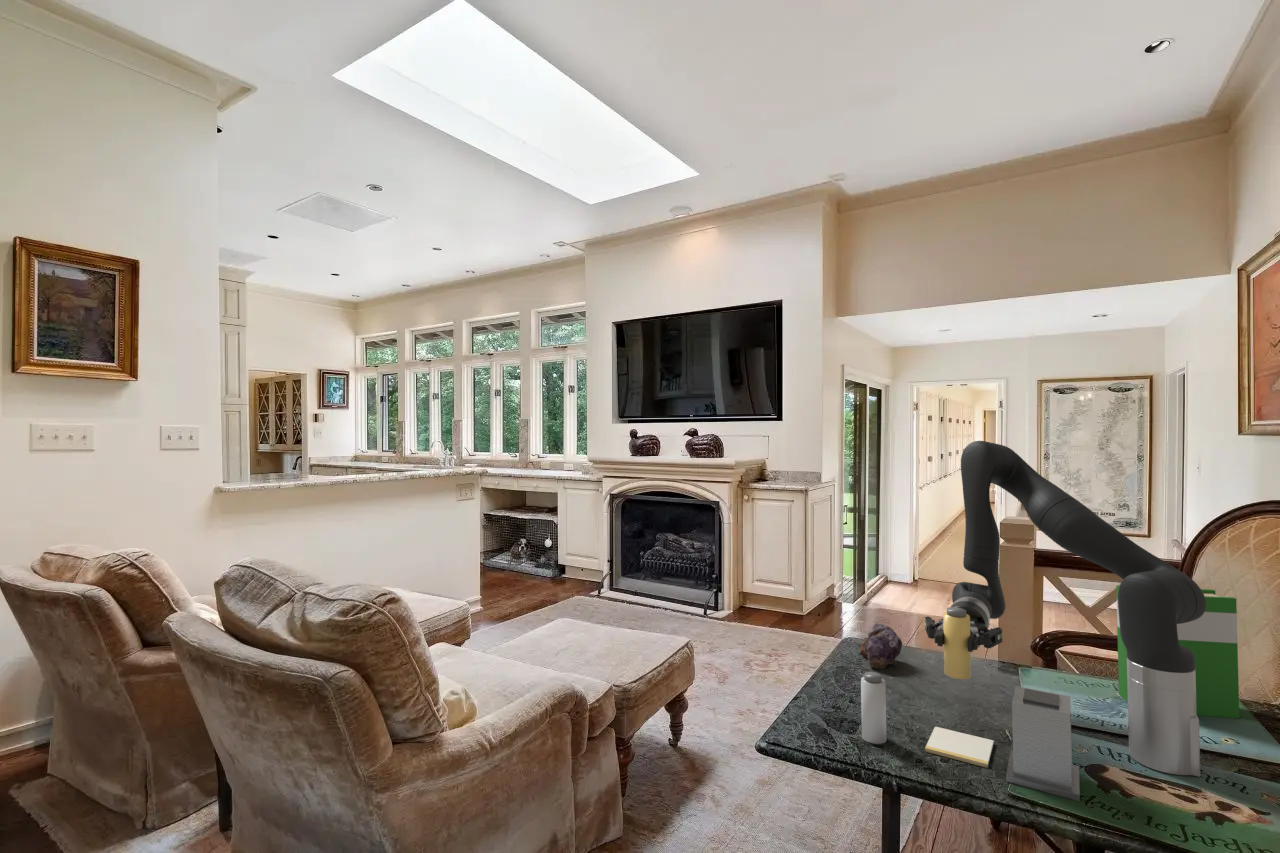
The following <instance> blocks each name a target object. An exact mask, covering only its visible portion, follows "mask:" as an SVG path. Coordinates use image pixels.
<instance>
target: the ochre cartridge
mask: <svg viewBox="0 0 1280 853" xmlns="http://www.w3.org/2000/svg"><path fill="white" fill-rule="evenodd" d="M942 615H943V616H942V617H943V618H942V619H943V626H944V644H943V673H944V675H946V676H947V677H950V678H951V679H957V680H968V679H970V678H971V676H972V672H971V671H972V669H971V668H972V667H971V661H972V660H971V658H972V657H971V652H968V638H969V636H970V616H969V615H967V614H966V610H965V609H962V608H957V607H951V606H949V607H947V608H946V611H944V612H943V614H942Z"/></svg>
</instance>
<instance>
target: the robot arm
mask: <svg viewBox="0 0 1280 853" xmlns="http://www.w3.org/2000/svg"><path fill="white" fill-rule="evenodd" d="M960 456H961V458H960V474H961V483H962V494H963V495H962V497H963V505H964V517H965V519H964V520H965V532H964V533H965V535H964V548H963V549H964V550H963V568H964V570H966V571H968V572H971V573H974V574H976V575H979V576H981V577H983V578H984V579H985V581H986V583H987V585H984V584H979V583H974V582H967V581H963V582H962V581H961V582H958V583H957V584H955V586H954V587H953V589H952V594H951V598H952V599H951V601H952V604H951V605H950V607H957V608H962V609H965V610H966V614H967V615H969V616H970V636H969V638H968V652H970V653H973V652H974V651H977V650H978V648H980V647H981V646H983V648H985V649H993V648H994V647H996V646H998V645H1000V644H1001V643H1003V629H1002V628H1001V627H999V626H997V627H994V628H991V627H990V624H991V623H990V621H991V620H995V619H996V620H997V619H999V618H1001V617H1002V616H1003V615H1004V613H1005V610H1006V600H1005V597H1004V596H1005V595H1004V592H1003V588H1002V584H1001V579H1000V571H999V569H1000V567H999V564H1000V563H999V562H1000V552H1001V550H1000V549H1001V538H1000V532H999V528H998V524H997V522H996V519H995V515H994V512H993V509H992V506H991V500H990V498H991V496H990V489H991V484H993V485H995V486H998V487H1000V488H1001V489H1003V490H1004V491H1006V492H1007V493H1009V494H1010V495H1011V496H1012V497H1014V498H1016V500H1018V502H1020V503H1021V505H1022V506H1023V508H1024V510H1025V512H1026V515H1027V516H1028V518H1029V519H1030V521H1031V523H1033V525H1034V526H1035V527H1036V528H1037V529H1039V531H1041V532H1042V533H1043V534H1044V535H1045V536H1046V537H1048V538H1049V539H1050V540H1051V541H1053V542H1054V543H1055V544H1056V545H1058V546H1059V547H1061V548H1062V549H1064V550H1065V551H1068V552H1070V553H1071V554H1073V555H1075V556H1077V557H1079V558H1082V559H1084V560H1086V561H1089V562H1090V563H1093V564H1096V565H1098V566H1100V567H1102V568H1103V569H1106V570H1107V571H1110V572H1112V573H1113V574H1114V575H1116V576H1118V577H1119V578H1120V579H1122V580H1121V582H1120V584H1119V586H1120V587H1119V591H1118V611H1119V622H1120V634H1121V638H1122V641H1123V644H1124V645H1125V648H1126V651H1127V685H1128V702H1127V717H1128V720H1127V721H1128V723H1127V724H1128V726H1127V727H1128V754H1129V756H1130V757H1131V758H1132V759H1133V760H1134V761H1136V762H1137V763H1139V764H1140V765H1143V766H1145V767H1147V768H1149V769H1153V770H1155V771H1159V772H1162V773H1166V774H1171V775H1178V776H1193V777H1194V776H1195V777H1198V778H1199V777H1201V750H1200V749H1201V742H1200V739H1201V738H1200V720H1199V717H1198V715H1197V713H1196V674H1195V656H1194V654H1193V652H1192V651H1191V650H1189V649H1188V648H1186V647H1184V646H1181V645H1180V644H1179V641H1178V633H1177V624H1181V623H1186V622H1190V621H1193V620H1196V619H1198V618H1200V617H1201V616H1202V615H1203V614H1204V612H1205V610H1206V599H1205V596H1204V594H1203V592H1202V590H1201V589H1202V588H1201V587H1200V586H1199V585H1198V584H1197V582H1196V581H1194V579H1193V578H1191V577H1190V576H1188V575H1187V574H1185V573H1184V572H1183V571H1181V570H1179V569H1178V568H1176V567H1174V566H1173V565H1171V564H1169V563H1168V562H1167V561H1164V560H1163V559H1161V558H1159V557H1158V556H1155V555H1154V554H1153V553H1151V552H1149V551H1148V550H1146V549H1145V548H1143V547H1142V546H1140V545H1138V544H1137V543H1135V542H1134V541H1133V540H1132V539H1130V538H1129V537H1128V536H1126V535H1125V534H1124V533H1122V532H1121V531H1120V530H1118V529H1116V528H1115V527H1114V526H1112V525H1111V524H1110V523H1108V521H1106V520H1104V519H1103V518H1101V517H1100V516H1099V515H1098V514H1096V513H1095V512H1094V511H1092V510H1091V509H1090V508H1088V507H1087V506H1086V505H1084V504H1083V503H1081V501H1079V500H1078V499H1076V498H1075V497H1074V496H1072V495H1070V494H1069V493H1068V492H1066V491H1064V490H1063V489H1062V488H1060V487H1059V486H1057V485H1056V484H1054V482H1051V481H1049V480H1048V479H1047V478H1045V477H1044V476H1042V475H1041V474H1040V473H1038V472H1037V471H1036V470H1035V469H1034V468H1033V467H1032V466H1030V465H1029V464H1028V463H1027V462H1026V461H1025V460H1024V459H1023V458H1022V457H1021V456H1020V455H1019V454H1018V453H1017V452H1015V451H1014V450H1013V449H1012V448H1010V447H1008V446H1006V445H1003V444H1000V443H995V442H992V441H991V442H990V441H985V440H975V441H972V442H970V443H969V444H967V445H966V446H965V448H964V449H963V451H962V453H961V455H960ZM924 630H925V634H926V635H927V637H928V639H931V640H933V639H934V643H935V644H937V647H941V648H942V647H944V626H943V618H941V619H939V621H935V619H933V618H932V616H931V617H930V616H925V617H924Z"/></svg>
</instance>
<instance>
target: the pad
mask: <svg viewBox="0 0 1280 853" xmlns="http://www.w3.org/2000/svg"><path fill="white" fill-rule="evenodd" d="M994 743H995V740H994V739H993V740H992V739H989V738H985V737H980V736H976V735H972V734H967V733H964V732H961V731H960V732H959V731H955V730H952V729H947V728H943V727H939V726H934V728H933V730H932V732H931V733H930V737H929V739H928V741H927V743H926V745H925V748H924V751H925V752H926V753H930V754H933V755H936V756H942V757H944V758H947V759H953V760H956V761H961V762H963V763H967V764H971V765H975V766H979V767H983V768H986V769H988V768H989V764H990V759H991V755H992V752H993V747H994Z"/></svg>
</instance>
